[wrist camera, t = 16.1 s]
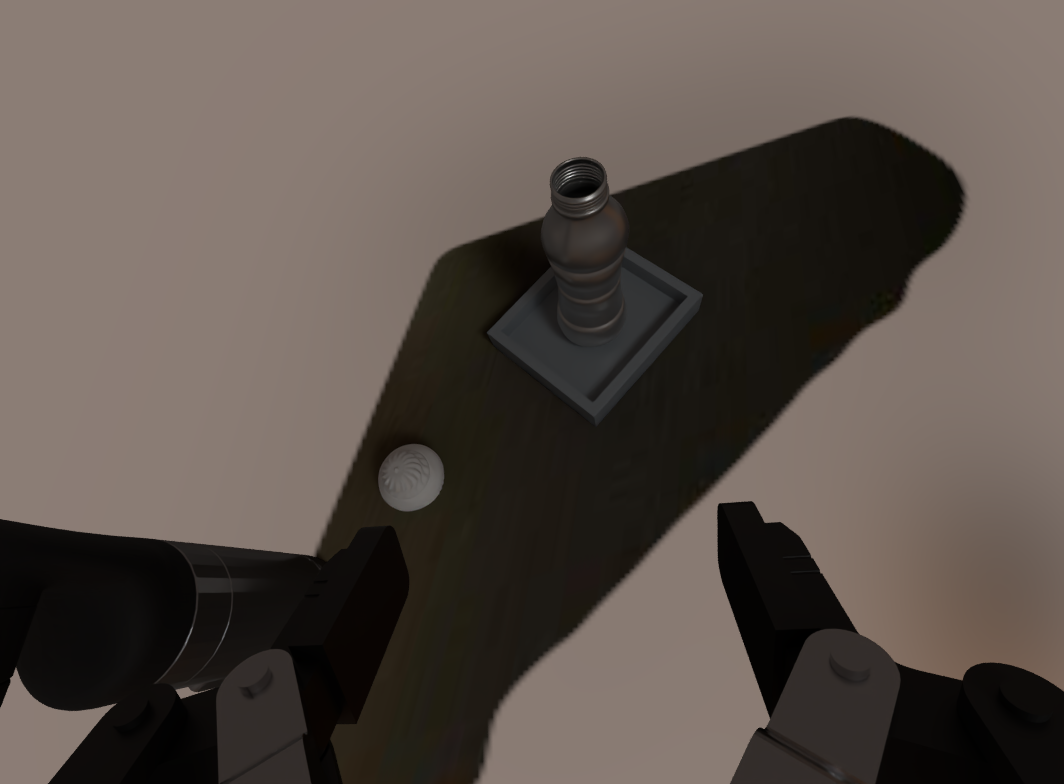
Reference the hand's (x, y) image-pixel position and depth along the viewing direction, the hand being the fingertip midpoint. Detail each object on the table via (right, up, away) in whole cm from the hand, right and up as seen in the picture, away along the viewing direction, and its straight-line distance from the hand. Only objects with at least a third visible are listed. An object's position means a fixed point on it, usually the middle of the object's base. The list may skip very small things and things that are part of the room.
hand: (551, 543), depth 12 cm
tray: (+6, +10, +40) cm, 41 cm away
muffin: (-11, -5, +37) cm, 39 cm away
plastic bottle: (+6, +10, +39) cm, 41 cm away
